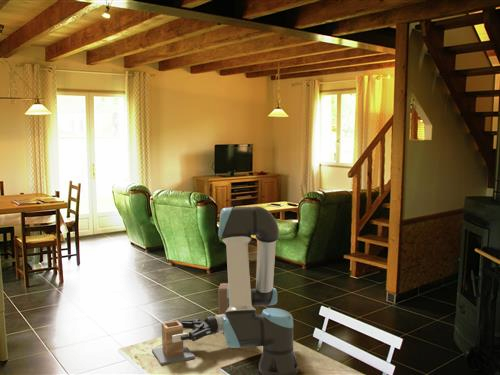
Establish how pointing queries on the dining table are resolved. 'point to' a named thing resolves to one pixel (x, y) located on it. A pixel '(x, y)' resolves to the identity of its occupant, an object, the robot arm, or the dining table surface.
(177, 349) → the wooden tube bead
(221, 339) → the dining table surface
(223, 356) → the dining table surface
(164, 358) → the metal rod stand
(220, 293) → the wooden block
